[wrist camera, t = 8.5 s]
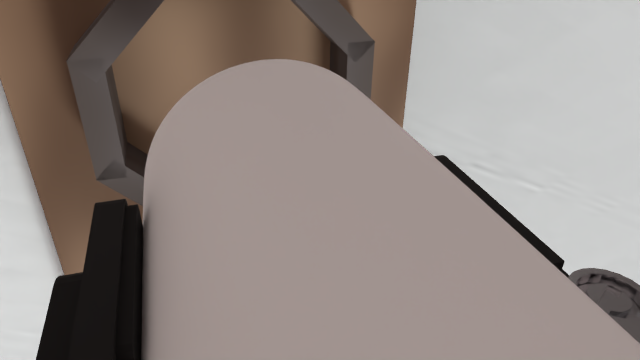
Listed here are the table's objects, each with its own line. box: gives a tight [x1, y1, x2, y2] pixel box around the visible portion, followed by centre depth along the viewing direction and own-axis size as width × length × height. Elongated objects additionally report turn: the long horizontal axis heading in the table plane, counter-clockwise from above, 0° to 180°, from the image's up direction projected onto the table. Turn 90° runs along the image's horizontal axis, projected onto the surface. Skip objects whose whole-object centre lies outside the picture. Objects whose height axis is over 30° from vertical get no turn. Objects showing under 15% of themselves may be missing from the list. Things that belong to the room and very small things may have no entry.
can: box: [141, 59, 640, 360], centre depth 8 cm, size 6×6×12 cm
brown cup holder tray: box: [0, 0, 416, 275], centre depth 19 cm, size 15×24×10 cm, turn 179°
